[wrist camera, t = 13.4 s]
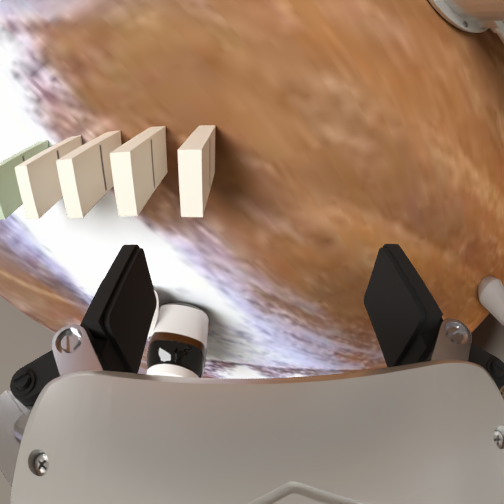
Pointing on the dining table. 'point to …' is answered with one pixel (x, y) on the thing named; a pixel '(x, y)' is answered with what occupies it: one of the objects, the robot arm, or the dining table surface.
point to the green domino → (14, 178)
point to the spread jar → (177, 340)
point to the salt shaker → (492, 297)
